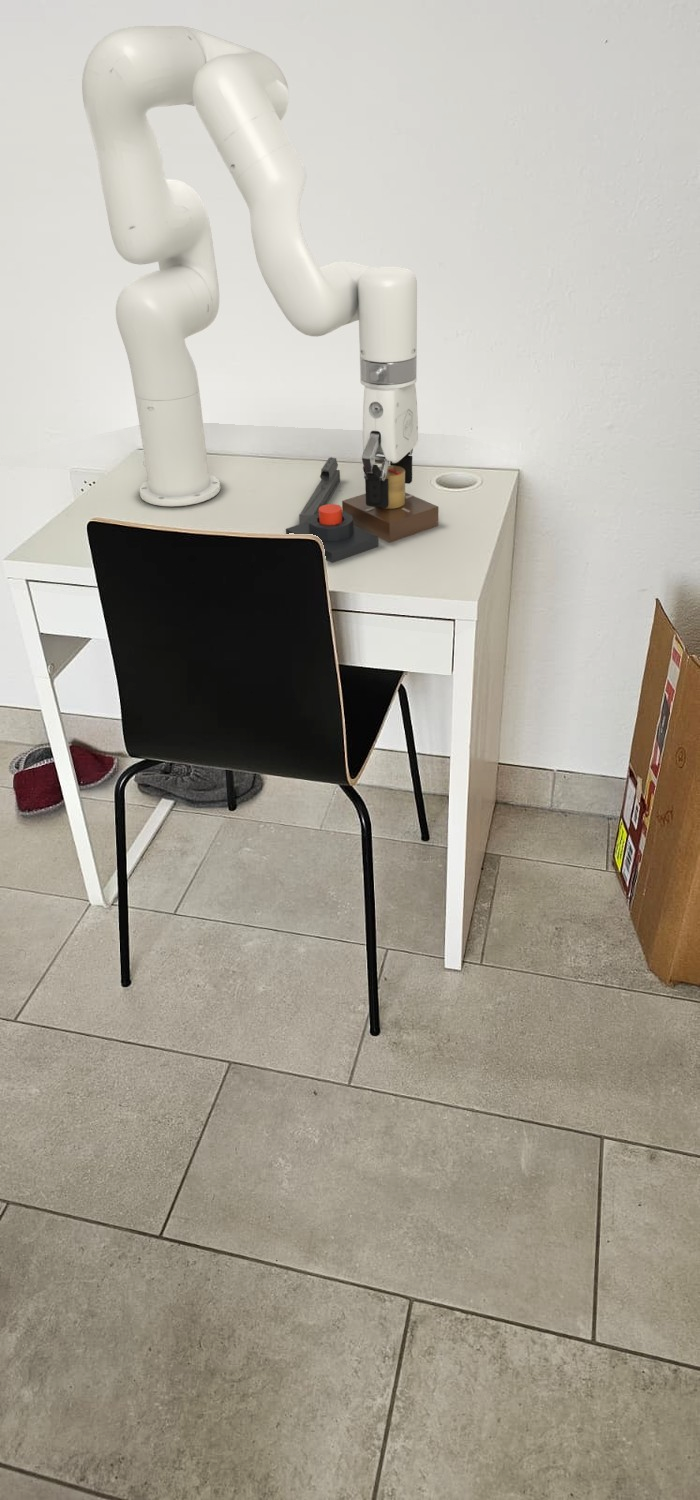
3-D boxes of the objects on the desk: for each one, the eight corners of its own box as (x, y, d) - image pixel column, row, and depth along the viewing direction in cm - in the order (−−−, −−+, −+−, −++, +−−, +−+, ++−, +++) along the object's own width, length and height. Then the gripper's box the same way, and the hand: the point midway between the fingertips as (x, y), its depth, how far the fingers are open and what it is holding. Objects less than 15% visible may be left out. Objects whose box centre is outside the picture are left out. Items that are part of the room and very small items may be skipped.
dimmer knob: (368, 502, 146) (367, 468, 143) (391, 495, 148) (391, 460, 145) (387, 511, 143) (387, 476, 140) (411, 503, 145) (411, 468, 142)
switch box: (286, 538, 144) (284, 515, 142) (331, 523, 148) (330, 500, 146) (332, 563, 137) (330, 539, 135) (378, 547, 141) (378, 523, 139)
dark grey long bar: (317, 530, 147) (315, 502, 144) (299, 529, 147) (297, 501, 145) (344, 482, 161) (343, 456, 159) (327, 482, 162) (326, 456, 159)
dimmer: (342, 520, 149) (341, 499, 147) (390, 504, 153) (389, 484, 151) (389, 543, 142) (389, 521, 140) (438, 526, 146) (438, 505, 144)
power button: (314, 521, 141) (314, 508, 140) (333, 515, 142) (332, 502, 141) (328, 528, 139) (327, 514, 138) (347, 522, 140) (346, 508, 139)
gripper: (392, 390, 127) (393, 519, 137) (435, 355, 140) (433, 476, 150) (337, 385, 130) (341, 513, 140) (385, 352, 143) (386, 470, 152)
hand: (389, 493), depth 145 cm, fingers open, 9 cm apart
